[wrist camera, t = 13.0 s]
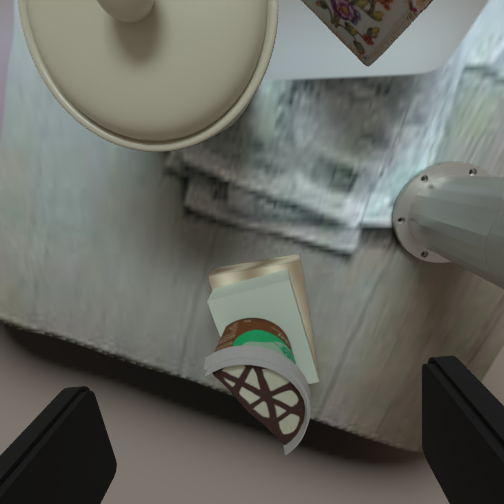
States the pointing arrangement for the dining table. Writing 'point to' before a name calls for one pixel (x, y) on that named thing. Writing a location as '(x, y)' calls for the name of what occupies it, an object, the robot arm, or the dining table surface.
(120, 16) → the canister
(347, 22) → the decorative jar
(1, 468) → the robot arm
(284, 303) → the upper slab
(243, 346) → the food container
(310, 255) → the dining table surface
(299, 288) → the lower slab
